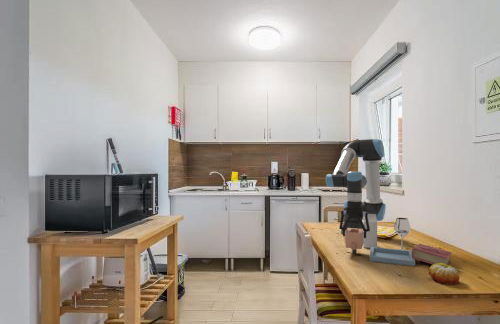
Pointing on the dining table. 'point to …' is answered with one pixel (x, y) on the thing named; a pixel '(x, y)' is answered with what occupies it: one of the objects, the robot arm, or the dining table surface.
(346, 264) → the dining table surface
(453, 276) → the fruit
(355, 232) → the pink window frame
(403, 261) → the tray
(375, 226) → the milk carton
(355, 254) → the grey t-shaped piece
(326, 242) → the dining table surface
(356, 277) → the dining table surface
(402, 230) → the wineglass
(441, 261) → the book
